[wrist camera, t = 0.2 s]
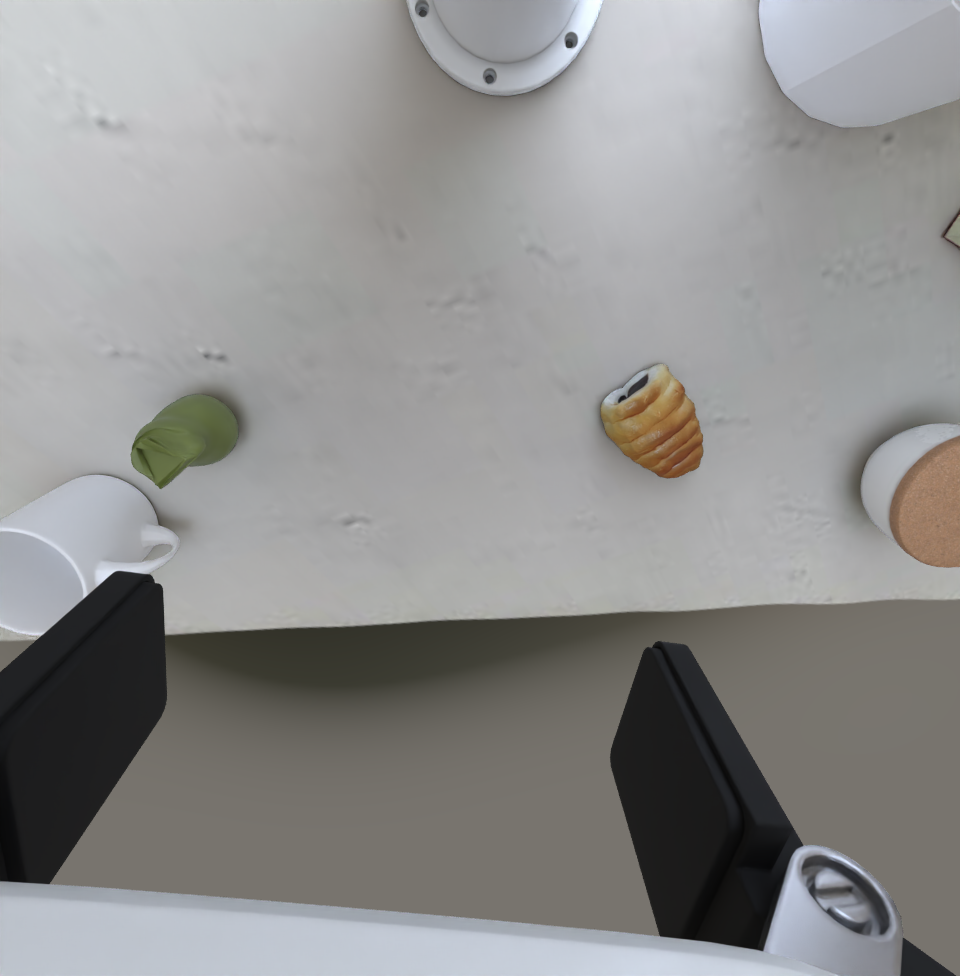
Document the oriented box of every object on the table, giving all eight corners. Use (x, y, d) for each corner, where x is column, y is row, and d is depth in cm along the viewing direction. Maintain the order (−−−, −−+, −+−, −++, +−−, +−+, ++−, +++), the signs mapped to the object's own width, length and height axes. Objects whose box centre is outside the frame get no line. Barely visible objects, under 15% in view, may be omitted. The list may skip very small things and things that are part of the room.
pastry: (716, 441, 48) (736, 456, 44) (649, 489, 49) (663, 507, 46) (656, 354, 45) (672, 362, 41) (586, 407, 47) (596, 420, 43)
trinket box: (822, 442, 48) (900, 483, 39) (951, 385, 46) (1063, 415, 38) (850, 543, 52) (928, 601, 43) (971, 494, 50) (1077, 543, 41)
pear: (211, 373, 45) (145, 404, 35) (262, 424, 46) (211, 465, 37) (165, 418, 46) (89, 458, 37) (216, 465, 48) (156, 516, 38)
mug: (205, 569, 51) (143, 644, 41) (66, 557, 50) (-31, 631, 40) (199, 480, 48) (130, 538, 38) (50, 466, 47) (-60, 521, 37)
